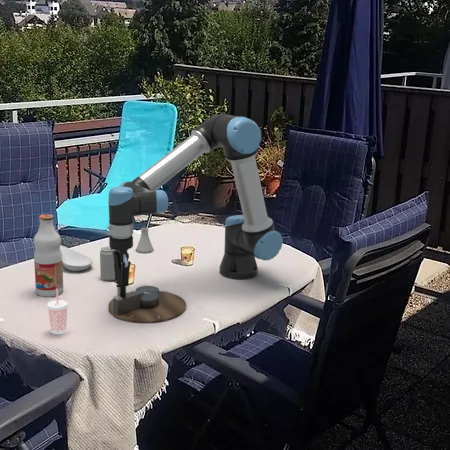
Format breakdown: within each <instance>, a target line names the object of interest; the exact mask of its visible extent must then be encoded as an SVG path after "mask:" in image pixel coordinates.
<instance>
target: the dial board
mask: <svg viewBox="0 0 450 450" xmlns="http://www.w3.org/2000/svg"><path fill="white" fill-rule="evenodd" d="M132 292H135V290H133V291H129V292H126V294H129V293H132ZM107 307H108V309H107V310H108V312H109V313H110V315H111V316H113V317H114V318H116V319H118V320H120V321H124V322H128V323H134V324H156V323H162V322H168V321H172V320H174V319H176V318H178V317H180V316H181V315H183V314H185V311H186V310H187V302H186V301H185V299H184V298H183V297H181V296H179V295H178V294H175V293H172V292H169V291H163V290H159V305H158V306H157V307H154V308H138V309H135V310H132V311H129V312H126V313H123V314H119V315H117V314H115V313H113V298H112V299H111V300H109V302H108V306H107Z"/></svg>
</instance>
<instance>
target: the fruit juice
mask: <svg viewBox="0 0 450 450" xmlns="http://www.w3.org/2000/svg"><path fill="white" fill-rule="evenodd" d="M54 221H55V220H54V215H53V214H50V213H47V214H46V213H45V214H40V215H38V222H39V227H38V230H37V232H36V234H35V235H34V237H33V244H34V248H35V250H34V253H33V260H34V261H33V262H34V279H35V280H34V281H35V282H34V283H35V292H36V294H37V295H38V296H40V297H57V296H56V288H58V296H59V295H61V294H62V293H63V292H64V275H63V274H64V273H63V264H62V253H61V250H60V245H61V243H62V240H61V239H62V238H61V236H60V234H59V233H58V231H56V228H55V225H54Z"/></svg>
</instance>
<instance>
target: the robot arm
mask: <svg viewBox="0 0 450 450" xmlns="http://www.w3.org/2000/svg"><path fill="white" fill-rule="evenodd" d="M261 142H262V131H261V128H260V127H259V126H258V124H257V123H256V121H254V120H252V119H251V118H248V117H246V116H236V115H232V114H231V115H230V114H226V113H220V114H216V115H214V116H212V117H210V118H208V119H207V120H205V121H204V122H202V123H201V124H199V125H198V126H197V127H195V128H194V129H193V130H191V133H190V136H189V137H187V138H186V139H185V140H183V141H182V142H181V143H179V144H178V145H176V147H174V148H173V149H172V150H170V151H169V152H168V153H166V154H165V155H164V156H163V157H161V158H160V159H159V160H157V161H156V162H155V163H154V164H152V165H151V166H150V167H148V168H147V169H146V170H145V171H143V172H142V173H140V174H139V175H138V176H136V177H135V178H134V179H133V180H131V181H129V180H128V181H124V182H121V183H120V184H119V185H118V186H113V187H112V188H110V189H109V191H108V202H107V203H108V223H109V224H108V225H109V226H108V225H107V230H108V231H109V233H108V234H109V237H108V240H109V241H108V243H109V244H108V245H109V246H108V247H110V248H112V249H114V250H115V251H113V252H112V253H113V258H114V270H115V280H114V281H116V290H117V291H116V294H117V295H118V296H125V295H126V293H127V287H129V279H130V268H131V261H130V260H129V259H130V253H128V251H129V250H130V249H132V248H133V247H134V236H133V235H134V217H139V216H148V215H155V214H156V215H157V214H161V213H165V212H166V211H167V210H168V207H169V197H168V195H167V194H168V193H166V191H164V190H162V189H160V187H162V186H163V185H165V184H166V183H167V182H169V181H170V180H171V179H172V178H174V177H175V176H176V175H177V174H178V173H180V172H181V171H182V170H184V169H185V168H186V167H187V166H189V165H190V164H191V163H193V162H194V161H195V160H196V159H198V158H199V157H200V156H201V155H203V154H205V153H206V154H208V153H210V152H211V151H213V150H214V149H216V148H217V149H218V148H223V154H224V156H225V157H224V158H225V160H226V161H228V162H230V164H231V168H232V173H233V177H234V182H235V187H236V189H237V194H238V198H239V202H240V203H239V204H240V207H241V212H242V214H239V215H238V214H236V215H230V216H228V217H227V218H225V222H224V223H225V225H224V251H223V252H224V253H223V256H222V259H221V261H220V265H219V268H218V269H219V274H220V275H221V276H222V277H224V278H229V279H232V280H233V279H234V280H246V279H253V278H254V277H256V276H257V275H258V274H259V272H258V271H259V268H258V263H257V260H256V259H258V260H262V261H271V260H272V259H274V258H275V257H276V256H277V255H278V254H279V253H280V251H281V250H282V248H283V240H284V239H283V236H282V235H281V233H280V231H278V230H276V229H275V226H274V225H275V224H274V221H273V219H272V218H271V217H269V216H268V212H267V207H266V202H265V198H264V194H263V188H262V184H261V180H260V174H259V170H258V165H257V161H256V160H257V159H256V156H257V155H258V154H259V149H258V148H259V146H260V143H261ZM117 295H116V296H117Z"/></svg>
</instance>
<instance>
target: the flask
mask: <svg viewBox="0 0 450 450" xmlns="http://www.w3.org/2000/svg"><path fill="white" fill-rule="evenodd" d="M149 229H150V228H148V227H141V228H140V231H141V234H140V237H139V241H138V244H137V246H136V249H135V251H136V252H138V253H141V254H149V253H152V252H153V251H154V247H153V244H152V243H151V240H150V237H149Z"/></svg>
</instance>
